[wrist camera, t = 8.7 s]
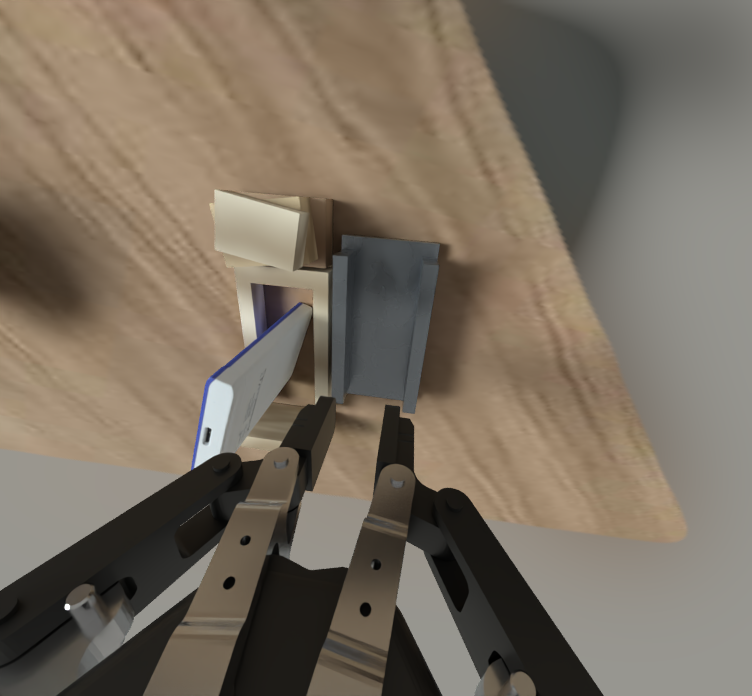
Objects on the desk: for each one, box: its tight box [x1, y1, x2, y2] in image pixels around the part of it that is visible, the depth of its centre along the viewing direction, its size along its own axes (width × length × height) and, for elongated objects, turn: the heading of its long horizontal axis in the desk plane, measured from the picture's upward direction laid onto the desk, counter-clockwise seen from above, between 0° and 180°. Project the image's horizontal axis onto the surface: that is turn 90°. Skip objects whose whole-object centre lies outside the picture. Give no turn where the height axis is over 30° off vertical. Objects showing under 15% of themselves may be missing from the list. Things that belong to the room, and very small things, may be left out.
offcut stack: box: [209, 189, 333, 272], centre depth 20 cm, size 5×7×6 cm
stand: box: [332, 234, 440, 414], centre depth 23 cm, size 14×7×4 cm, turn 176°
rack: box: [234, 266, 333, 451], centre depth 25 cm, size 16×7×5 cm, turn 176°
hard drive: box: [191, 302, 313, 470], centre depth 22 cm, size 2×8×12 cm, turn 157°
